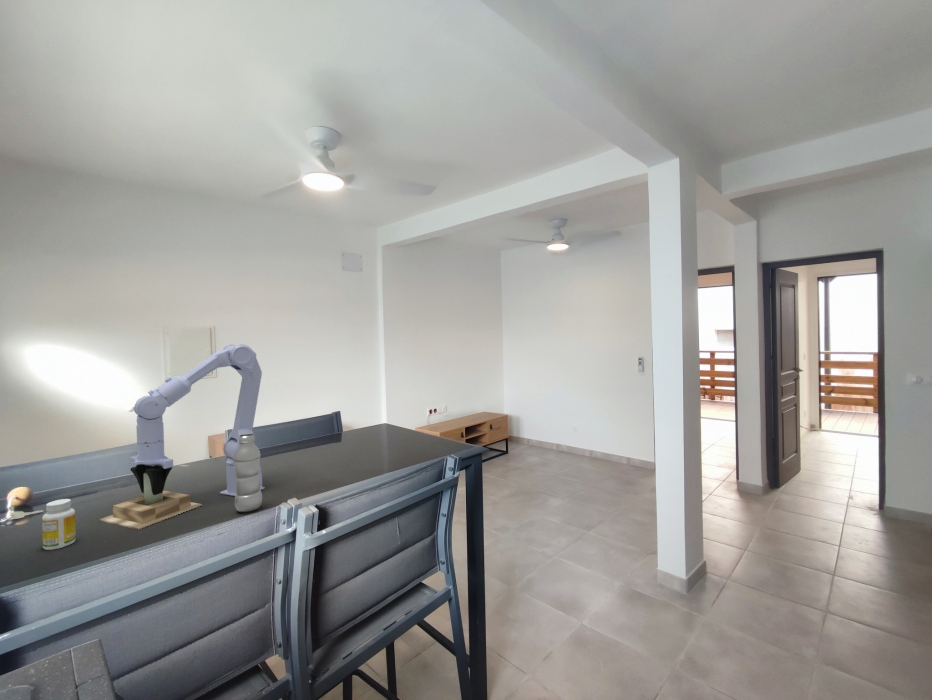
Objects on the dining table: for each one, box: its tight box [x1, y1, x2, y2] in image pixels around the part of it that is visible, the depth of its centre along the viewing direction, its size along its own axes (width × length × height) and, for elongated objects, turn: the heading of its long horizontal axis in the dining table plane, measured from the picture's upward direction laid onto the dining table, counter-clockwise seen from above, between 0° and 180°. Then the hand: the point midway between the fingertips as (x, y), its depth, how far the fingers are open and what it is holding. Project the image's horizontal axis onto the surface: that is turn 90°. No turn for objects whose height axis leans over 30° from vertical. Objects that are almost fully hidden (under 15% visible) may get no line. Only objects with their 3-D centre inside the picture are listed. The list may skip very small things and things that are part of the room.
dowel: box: [143, 473, 163, 505], centre depth 112 cm, size 4×4×8 cm
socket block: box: [98, 490, 204, 531], centre depth 112 cm, size 16×16×3 cm
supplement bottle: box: [41, 498, 77, 551], centre depth 95 cm, size 5×5×10 cm
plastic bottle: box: [233, 433, 263, 513], centre depth 112 cm, size 6×7×20 cm
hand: (152, 492), depth 112 cm, fingers closed on dowel, 4 cm apart
